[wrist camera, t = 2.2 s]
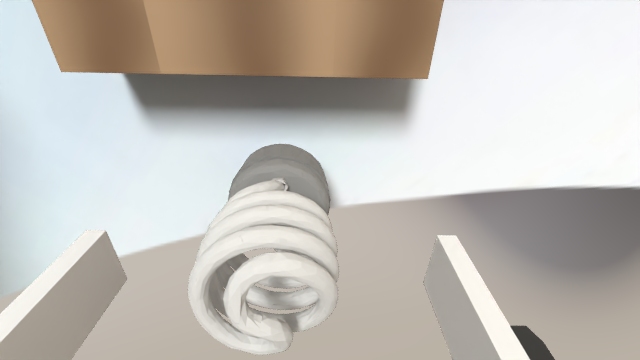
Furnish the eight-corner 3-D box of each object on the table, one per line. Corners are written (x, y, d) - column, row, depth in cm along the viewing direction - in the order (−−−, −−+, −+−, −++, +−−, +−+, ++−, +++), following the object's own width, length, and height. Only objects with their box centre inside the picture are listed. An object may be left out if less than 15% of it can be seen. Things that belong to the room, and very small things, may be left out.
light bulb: (235, 125, 18) (136, 283, 8) (325, 118, 18) (342, 269, 8) (253, 199, 21) (196, 385, 11) (330, 193, 21) (347, 375, 11)
